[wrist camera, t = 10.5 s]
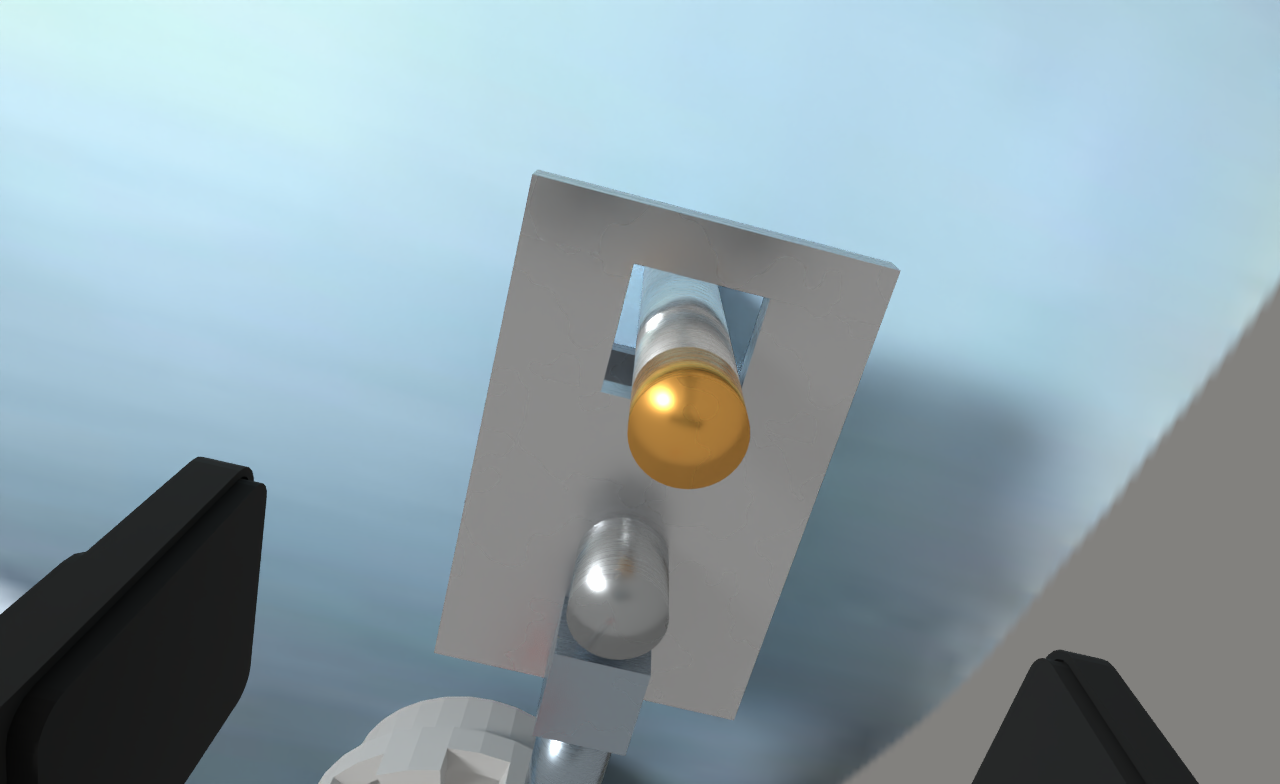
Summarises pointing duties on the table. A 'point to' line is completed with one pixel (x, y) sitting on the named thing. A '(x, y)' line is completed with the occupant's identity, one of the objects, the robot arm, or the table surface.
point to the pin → (685, 385)
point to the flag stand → (442, 746)
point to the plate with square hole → (621, 491)
